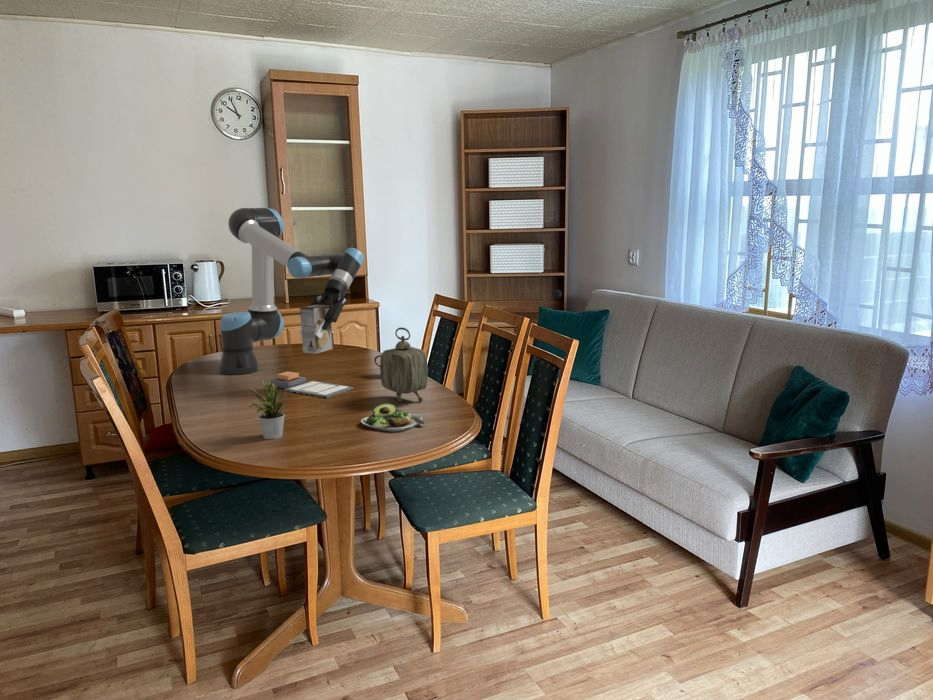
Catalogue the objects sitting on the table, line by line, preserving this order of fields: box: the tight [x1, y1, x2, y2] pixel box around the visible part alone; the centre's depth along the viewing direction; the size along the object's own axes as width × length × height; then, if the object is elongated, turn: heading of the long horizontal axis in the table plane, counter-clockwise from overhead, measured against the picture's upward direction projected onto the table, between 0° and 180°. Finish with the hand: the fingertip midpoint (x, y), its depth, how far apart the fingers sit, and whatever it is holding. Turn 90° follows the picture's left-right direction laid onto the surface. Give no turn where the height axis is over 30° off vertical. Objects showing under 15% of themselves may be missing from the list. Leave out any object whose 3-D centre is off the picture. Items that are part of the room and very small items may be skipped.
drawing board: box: [284, 380, 354, 399], centre depth 246 cm, size 20×14×1 cm
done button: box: [276, 371, 300, 380], centre depth 253 cm, size 6×6×2 cm
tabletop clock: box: [379, 327, 429, 403], centre depth 229 cm, size 14×9×25 cm, turn 49°
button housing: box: [269, 376, 307, 389], centre depth 253 cm, size 9×9×2 cm
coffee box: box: [299, 304, 333, 355], centre depth 242 cm, size 9×6×16 cm
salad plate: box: [359, 403, 427, 433], centre depth 206 cm, size 19×18×5 cm
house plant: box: [246, 380, 291, 440], centre depth 194 cm, size 14×14×16 cm
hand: (309, 335), depth 239 cm, fingers closed on coffee box, 6 cm apart
